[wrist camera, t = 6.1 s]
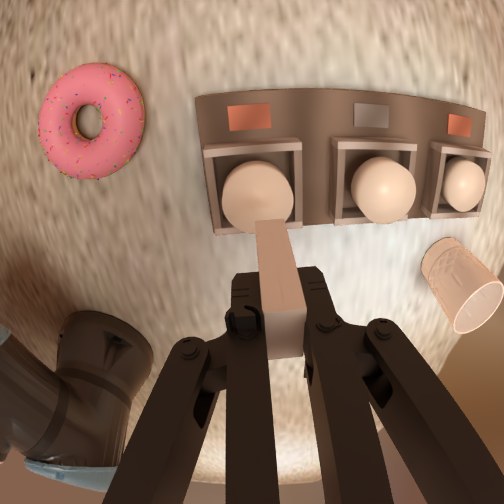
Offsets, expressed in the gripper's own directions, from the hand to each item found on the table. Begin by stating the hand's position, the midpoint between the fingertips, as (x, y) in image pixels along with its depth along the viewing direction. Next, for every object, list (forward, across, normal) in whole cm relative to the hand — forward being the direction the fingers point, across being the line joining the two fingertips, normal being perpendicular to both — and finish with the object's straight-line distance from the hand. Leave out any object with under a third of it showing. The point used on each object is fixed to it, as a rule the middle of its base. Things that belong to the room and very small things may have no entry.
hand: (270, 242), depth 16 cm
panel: (+13, +10, +1) cm, 16 cm away
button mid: (+8, +10, 0) cm, 12 cm away
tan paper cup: (+13, +24, -13) cm, 30 cm away
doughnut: (+13, -14, +7) cm, 21 cm away
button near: (+8, 0, 0) cm, 8 cm away
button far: (+9, +20, 0) cm, 22 cm away
